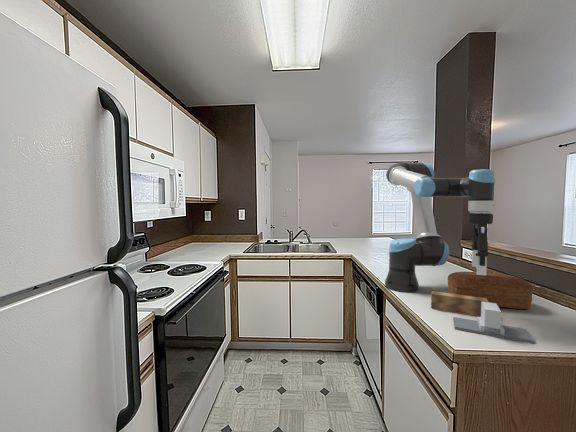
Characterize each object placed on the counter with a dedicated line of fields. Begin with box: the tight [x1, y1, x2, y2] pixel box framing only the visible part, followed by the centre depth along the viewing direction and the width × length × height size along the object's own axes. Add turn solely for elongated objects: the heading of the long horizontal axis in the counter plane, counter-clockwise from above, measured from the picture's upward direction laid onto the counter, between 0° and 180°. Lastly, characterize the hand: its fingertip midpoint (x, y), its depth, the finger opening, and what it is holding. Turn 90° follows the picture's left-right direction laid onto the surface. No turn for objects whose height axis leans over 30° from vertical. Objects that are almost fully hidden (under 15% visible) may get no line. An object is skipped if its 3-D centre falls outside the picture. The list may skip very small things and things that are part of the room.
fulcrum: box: [452, 301, 536, 344], centre depth 90 cm, size 20×9×8 cm, turn 63°
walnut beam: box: [430, 290, 488, 317], centre depth 107 cm, size 18×4×6 cm, turn 62°
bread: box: [446, 271, 534, 310], centre depth 115 cm, size 14×28×12 cm, turn 75°
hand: (478, 270), depth 103 cm, fingers open, 13 cm apart
